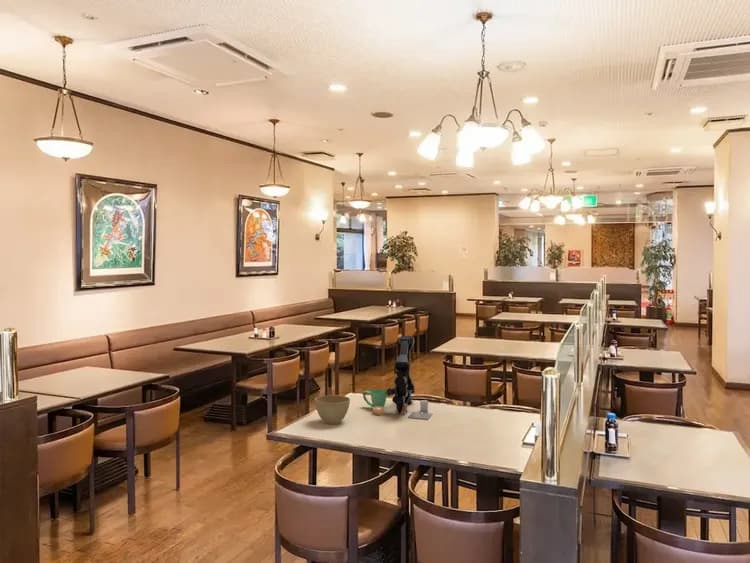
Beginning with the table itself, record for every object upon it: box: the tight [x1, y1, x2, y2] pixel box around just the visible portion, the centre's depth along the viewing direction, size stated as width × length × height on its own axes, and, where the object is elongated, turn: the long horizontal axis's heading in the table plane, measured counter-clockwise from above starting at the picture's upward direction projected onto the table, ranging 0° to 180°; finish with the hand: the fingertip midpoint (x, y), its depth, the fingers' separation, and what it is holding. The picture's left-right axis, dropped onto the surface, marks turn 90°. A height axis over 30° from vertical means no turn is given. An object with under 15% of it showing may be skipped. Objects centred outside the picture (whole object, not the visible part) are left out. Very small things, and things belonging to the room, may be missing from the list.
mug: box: [362, 389, 388, 408], centre depth 323 cm, size 15×10×10 cm
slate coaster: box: [407, 411, 433, 421], centre depth 307 cm, size 11×11×1 cm
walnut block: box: [395, 404, 408, 416], centre depth 313 cm, size 5×5×5 cm
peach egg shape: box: [372, 406, 385, 416], centre depth 312 cm, size 6×6×4 cm
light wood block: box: [419, 399, 429, 413], centre depth 317 cm, size 4×4×6 cm
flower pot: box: [314, 394, 351, 425], centre depth 295 cm, size 18×18×12 cm
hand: (401, 411), depth 313 cm, fingers open, 9 cm apart
